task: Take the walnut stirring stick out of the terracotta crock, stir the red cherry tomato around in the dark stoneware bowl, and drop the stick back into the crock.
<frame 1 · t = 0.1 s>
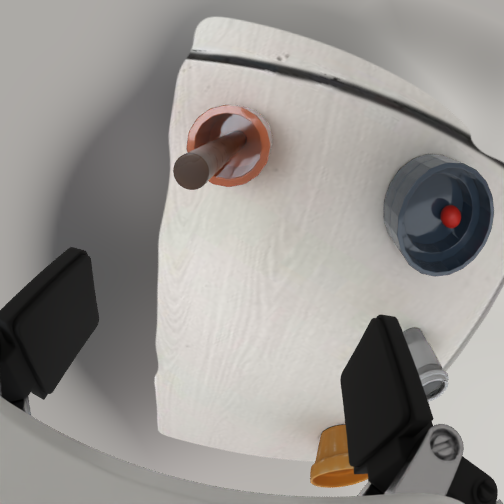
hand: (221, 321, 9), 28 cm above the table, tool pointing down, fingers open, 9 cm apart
stick: (237, 139, 33), point 1 cm above the table, touching holder
holder: (238, 139, 33), on the table
flower pot: (339, 432, 60), on the table
cup: (409, 337, 44), on the table
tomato: (445, 212, 34), point 1 cm above the table, touching bowl
bowl: (430, 206, 34), on the table
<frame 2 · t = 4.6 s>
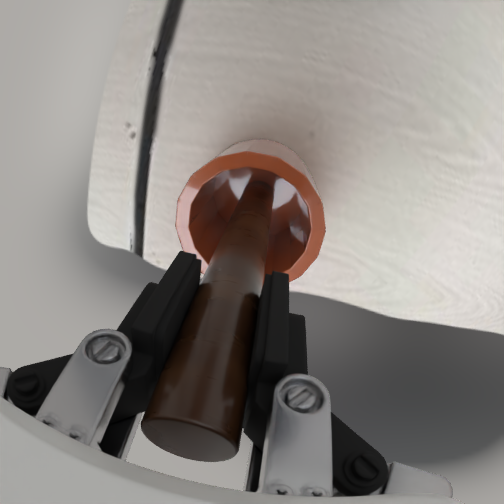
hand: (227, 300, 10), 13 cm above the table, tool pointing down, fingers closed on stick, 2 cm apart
stick: (258, 195, 21), point 1 cm above the table, touching gripper, holder
holder: (259, 192, 22), on the table
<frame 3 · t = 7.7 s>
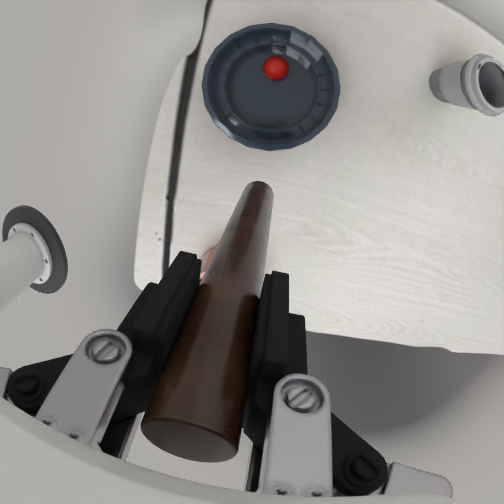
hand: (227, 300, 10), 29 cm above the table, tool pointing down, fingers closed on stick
stick: (258, 195, 21), point 17 cm above the table, touching gripper
cup: (442, 85, 29), on the table
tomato: (275, 69, 31), point 1 cm above the table, touching bowl
bowl: (272, 88, 32), on the table
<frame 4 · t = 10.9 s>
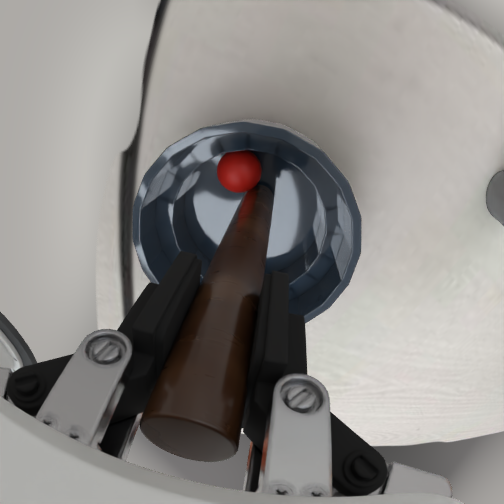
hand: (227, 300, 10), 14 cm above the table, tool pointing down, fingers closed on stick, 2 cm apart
stick: (258, 199, 21), point 1 cm above the table, touching gripper, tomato
cup: (501, 194, 20), on the table
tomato: (249, 183, 21), point 1 cm above the table, tilted 55°, touching bowl, stick
bowl: (251, 211, 23), on the table
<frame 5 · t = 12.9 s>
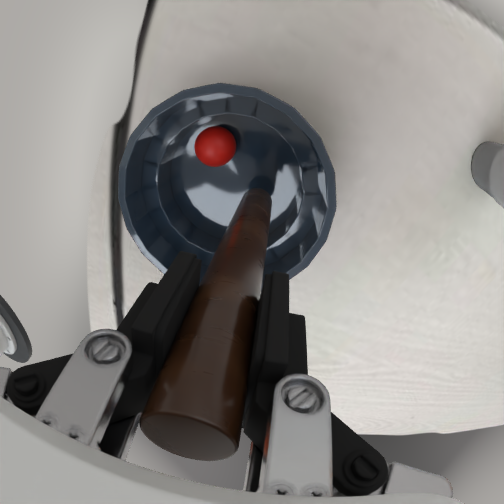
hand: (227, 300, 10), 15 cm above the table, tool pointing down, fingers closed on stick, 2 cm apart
stick: (256, 202, 22), point 3 cm above the table, touching gripper
cup: (487, 165, 20), on the table
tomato: (216, 154, 22), point 1 cm above the table, tilted 32°, touching bowl
bowl: (234, 177, 23), on the table
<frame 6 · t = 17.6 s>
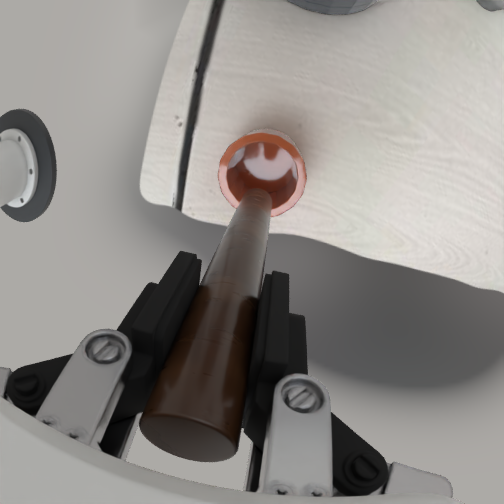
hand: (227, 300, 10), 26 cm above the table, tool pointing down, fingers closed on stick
stick: (256, 202, 22), point 13 cm above the table, touching gripper
holder: (266, 163, 33), on the table
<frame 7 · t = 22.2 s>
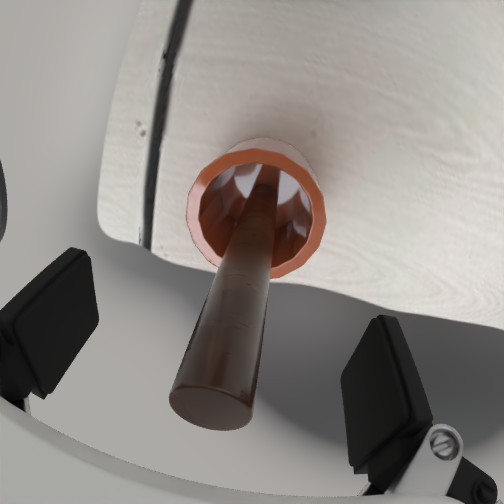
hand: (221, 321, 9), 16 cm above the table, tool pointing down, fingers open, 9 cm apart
stick: (263, 197, 23), point 1 cm above the table, touching holder
holder: (263, 187, 23), on the table
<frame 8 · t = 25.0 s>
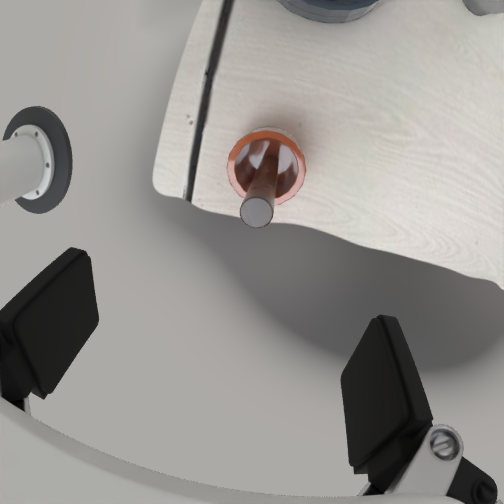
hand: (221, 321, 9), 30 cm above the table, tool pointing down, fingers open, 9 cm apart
stick: (269, 163, 36), point 1 cm above the table, touching holder
holder: (269, 158, 36), on the table
cup: (472, 2, 20), on the table
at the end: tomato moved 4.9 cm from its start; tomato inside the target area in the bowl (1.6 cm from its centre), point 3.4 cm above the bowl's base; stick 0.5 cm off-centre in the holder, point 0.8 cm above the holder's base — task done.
